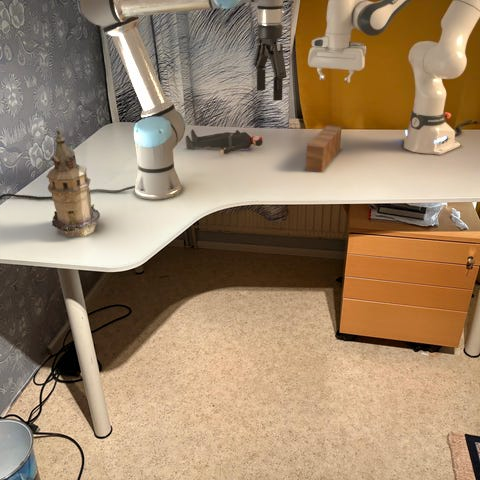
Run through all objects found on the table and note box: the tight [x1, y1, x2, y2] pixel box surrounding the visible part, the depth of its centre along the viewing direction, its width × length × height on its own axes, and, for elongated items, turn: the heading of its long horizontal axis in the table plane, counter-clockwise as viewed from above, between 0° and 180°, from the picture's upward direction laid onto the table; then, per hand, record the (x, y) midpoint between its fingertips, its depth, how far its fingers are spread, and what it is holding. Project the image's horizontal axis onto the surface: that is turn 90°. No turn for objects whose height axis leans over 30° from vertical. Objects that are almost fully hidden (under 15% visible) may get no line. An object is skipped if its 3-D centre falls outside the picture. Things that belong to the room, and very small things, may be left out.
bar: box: [305, 124, 343, 173], centre depth 199 cm, size 25×6×9 cm, turn 156°
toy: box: [185, 129, 264, 156], centre depth 213 cm, size 26×6×30 cm
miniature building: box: [46, 129, 101, 237], centre depth 148 cm, size 13×14×30 cm
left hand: (269, 95), depth 171 cm, fingers open, 13 cm apart
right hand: (334, 81), depth 195 cm, fingers open, 8 cm apart
